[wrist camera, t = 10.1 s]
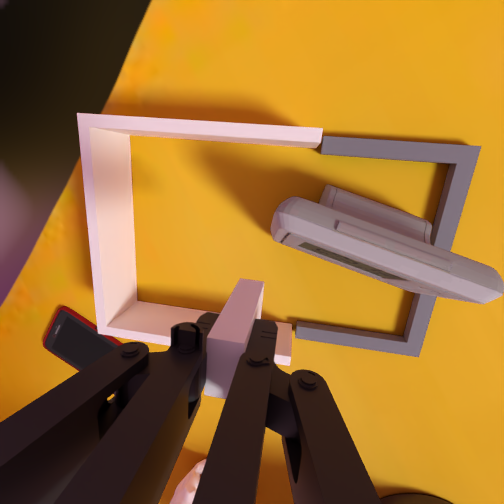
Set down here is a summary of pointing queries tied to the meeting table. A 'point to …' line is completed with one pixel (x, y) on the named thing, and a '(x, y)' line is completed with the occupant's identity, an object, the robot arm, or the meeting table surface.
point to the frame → (441, 235)
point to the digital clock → (381, 246)
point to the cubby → (122, 220)
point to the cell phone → (77, 339)
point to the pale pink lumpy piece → (188, 485)
